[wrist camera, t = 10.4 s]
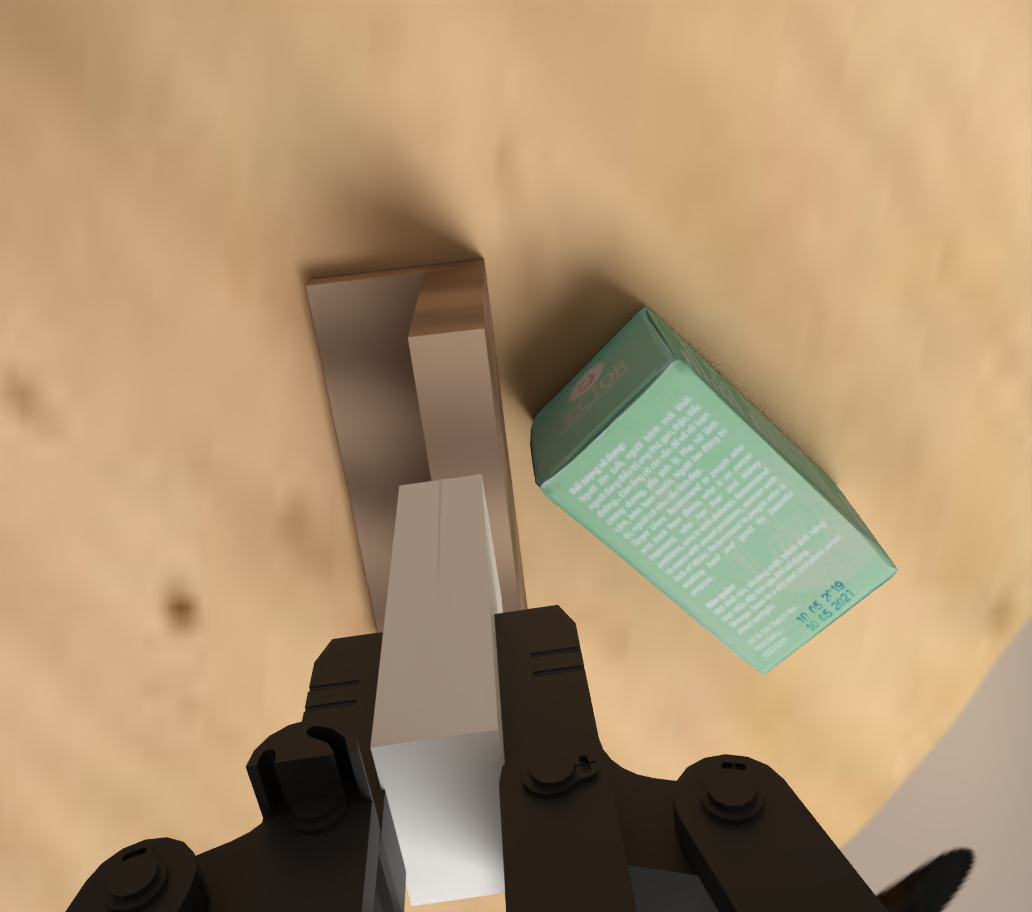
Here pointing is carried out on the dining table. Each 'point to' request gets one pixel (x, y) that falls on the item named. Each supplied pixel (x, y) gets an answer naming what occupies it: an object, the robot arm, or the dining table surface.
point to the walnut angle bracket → (415, 402)
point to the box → (704, 495)
